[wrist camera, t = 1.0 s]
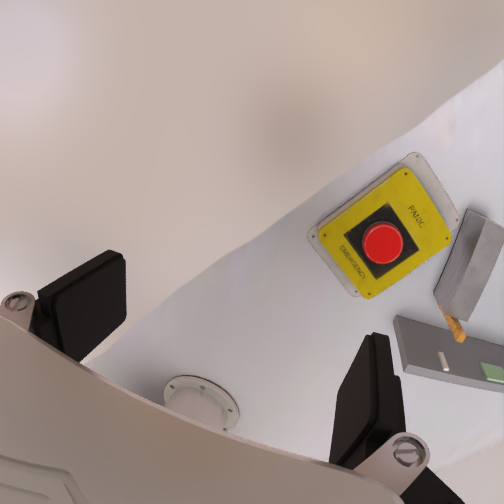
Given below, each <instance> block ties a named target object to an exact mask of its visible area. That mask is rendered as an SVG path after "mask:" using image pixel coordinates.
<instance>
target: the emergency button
mask: <svg viewBox="0 0 504 504" xmlns="http://www.w3.org/2000/svg"><path fill="white" fill-rule="evenodd" d="M459 224H460V215H459V214H458V212H457V210H456V208H455V207H454V205H453V203H452V201H451V200H450V198H449V196H448V195H447V193H446V191H445V190H444V188H443V186H442V185H441V183H440V181H439V180H438V178H437V177H436V175H435V174H434V172H433V170H432V169H431V167H430V166H429V164H428V163H427V161H426V160H425V158H424V157H423V156H422V155H421V154H420V153H416V152H413V153H411V154H409V155H407V156H406V157H405V158H404V159H402V160H401V161H400V162H398V163H397V164H396V165H394V166H393V167H392V168H391V169H389V170H388V171H387V172H385V173H384V174H383V175H381V176H380V177H379V178H377V179H376V180H375V181H374V182H372V183H371V184H370V185H368V186H367V187H366V188H364V189H363V190H362V191H360V192H359V193H358V194H356V195H355V196H354V197H353V198H351V199H350V200H349V201H347V202H346V203H345V204H343V205H342V206H341V207H339V208H338V209H337V210H335V211H334V212H333V213H331V214H330V215H329V216H327V217H326V218H325V219H323V220H322V221H321V222H319V223H318V224H317V225H315V226H314V227H313V228H311V230H310V231H309V232H308V236H307V238H308V241H309V243H310V244H311V245H312V246H313V248H314V249H315V250H316V251H317V253H318V254H319V255H320V257H321V258H322V259H323V260H324V262H325V263H326V264H327V266H328V267H329V268H330V269H331V271H332V272H333V273H334V275H335V276H336V277H337V278H338V280H339V281H340V282H341V284H342V285H343V286H344V288H345V289H346V290H347V292H348V293H349V294H350V295H352V296H355V297H358V296H362V297H364V298H366V299H370V298H373V297H374V296H376V295H378V294H379V293H381V292H382V291H384V290H385V289H387V288H388V287H390V286H391V285H393V284H394V283H396V282H397V281H399V280H400V279H402V278H403V277H404V276H406V275H407V274H409V273H410V272H412V271H413V270H415V269H416V268H417V267H419V266H420V265H422V264H423V263H424V262H426V261H427V260H429V259H430V258H431V257H433V256H434V255H436V254H437V253H438V252H440V251H441V250H442V249H444V248H445V247H446V246H448V245H449V244H450V242H451V239H452V236H451V232H452V231H454V230H455V229H456V228H457V227H458V226H459Z"/></svg>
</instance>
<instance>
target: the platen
mask: <svg viewBox="0 0 504 504" xmlns="http://www.w3.org/2000/svg"><path fill="white" fill-rule="evenodd" d="M503 243H504V227H502V226H500V225H499V224H497V223H495V222H494V221H492V220H490V219H489V218H486V217H484V216H482V215H480V214H478V213H476V212H473V211H471V210H469V209H467V212H466V215H465V218H464V220H463V223H462V226H461V229H460V232H459V234H458V237H457V240H456V242H455V245H454V247H453V250H452V252H451V255H450V257H449V260H448V262H447V264H446V267H445V269H444V271H443V274H442V276H441V278H440V281H439V283H438V285H437V287H436V289H435V291H434V295H435V297H436V299H437V301H438V305H439V307H440V309H441V311H442V313H443V315H444V317H445V319H446V321H447V323H448V325H449V327H450V329H451V331H452V333H453V335H454V337H455V340H456V341H457V342H461V343H463V341H464V339H465V338H466V334H465V332H464V330H463V329H462V327H461V325H460V323H459V321H458V319H460V320H463V321H466V322H467V321H468V319H469V317H470V316H471V314H472V312H473V310H474V308H475V306H476V304H477V302H478V300H479V298H480V296H481V294H482V292H483V290H484V288H485V286H486V283H487V281H488V279H489V277H490V275H491V272H492V270H493V268H494V266H495V263H496V261H497V258H498V256H499V253H500V251H501V248H502V246H503Z"/></svg>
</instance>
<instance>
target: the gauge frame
mask: <svg viewBox="0 0 504 504" xmlns="http://www.w3.org/2000/svg"><path fill="white" fill-rule="evenodd" d="M393 325H394V329H395V333H396V338H397V342H398V347H399V352H400V357H401V362H402V367H403V372H405V373H409V374H413V375H417V376H422V377H426V378H430V379H435V380H439V381H444V382H449V383H453V384H458V385H463V386H468V387H473V388H478V389H484V390H489V391H495V392H501V393H504V347H503V346H500V345H496V344H493V343H489V342H486V341H482V340H479V339H475V338H472V337H468V336H466V338H465V339H464V341H463V343H461V342H457V341H456V340H455V337H454V335H453V333H452V332H451V331H448V330H444V329H441V328H437V327H434V326H431V325H427V324H424V323H421V322H417V321H414V320H411V319H407V318H404V317H401V316H397V315H396V317H395V319H394V321H393Z"/></svg>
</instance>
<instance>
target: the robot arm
mask: <svg viewBox="0 0 504 504" xmlns="http://www.w3.org/2000/svg"><path fill="white" fill-rule="evenodd" d="M37 292H38V298H39V299H37V300H36V301H35V298H34V296H33V295H32V294H30V293H28V292H23V291H20V292H14V293H11V294H9V295H8V296H6V297H5V298H4V299H3V301H2V302H1V305H0V504H465V503H464V502H463V501H462V500H461V499H460V498H459V497H458V496H457V495H456V494H455V493H454V492H453V491H452V490H451V489H450V488H449V487H448V486H446V484H444V482H443V481H441V480H440V479H439V478H438V477H437V476H436V475H435V474H434V473H433V472H432V471H431V470H430V469H429V468H428V467H427V464H428V462H429V459H430V452H429V448H428V446H427V444H426V443H425V442H424V441H423V440H422V439H421V438H420V437H418V436H417V435H415V434H412V433H407V432H406V425H405V414H404V405H403V396H402V388H401V381H400V377H399V376H396V375H394V369H393V362H392V355H391V348H390V341H389V336H387V335H383V334H379V333H376V332H373V333H372V334H371V335H366V336H365V338H364V340H363V342H362V344H361V346H360V348H359V351H358V353H357V355H356V357H355V359H354V361H353V363H352V365H351V367H350V369H349V371H348V373H347V375H346V376H345V378H344V380H343V382H342V384H341V386H340V388H339V391H338V394H337V402H336V411H335V419H334V428H333V435H332V443H331V450H330V457H329V463H327V462H324V461H320V460H316V459H313V458H309V457H305V456H301V455H298V454H294V453H290V452H287V451H283V450H280V449H276V448H273V447H270V446H267V445H263V444H260V443H257V442H254V441H251V440H248V439H245V438H241V437H239V436H236V435H233V434H230V433H227V432H228V431H230V430H232V429H233V428H234V427H235V425H236V423H237V421H238V418H239V412H238V408H237V406H236V404H235V402H234V401H233V400H232V398H231V397H230V396H229V395H228V394H227V393H226V392H225V391H223V390H222V389H221V388H219V387H218V386H216V385H214V384H213V383H211V382H208V381H206V380H204V379H200V378H197V377H191V376H180V377H176V378H174V379H172V380H171V381H169V382H168V384H167V385H166V387H165V389H164V392H163V397H164V401H165V403H166V404H165V406H164V407H163V406H160V405H158V404H156V403H154V402H152V401H150V400H147V399H145V398H143V397H141V396H139V395H137V394H135V393H133V392H131V391H129V390H127V389H125V388H123V387H121V386H119V385H117V384H116V383H114V382H112V381H110V380H108V379H106V378H104V377H103V376H101V375H99V374H97V373H95V372H94V371H92V370H90V369H88V368H87V367H85V366H83V365H82V364H80V363H79V362H80V361H81V360H83V358H84V357H86V356H87V355H88V354H89V353H90V352H91V351H92V350H93V349H95V348H96V347H97V346H98V345H99V344H100V343H101V342H102V341H103V340H104V339H105V338H107V337H108V336H109V335H110V334H111V333H112V332H113V331H114V330H115V329H116V328H118V327H119V326H120V325H121V324H122V323H123V322H124V321H125V319H126V314H127V312H126V261H125V259H124V258H123V255H122V254H121V253H118V252H115V251H112V250H107V251H105V252H103V253H102V254H100V255H98V256H96V257H94V258H93V259H91V260H89V261H87V262H86V263H84V264H82V265H81V266H79V267H77V268H75V269H74V270H72V271H70V272H68V273H67V274H65V275H63V276H62V277H60V278H58V279H57V280H55V281H54V282H52V283H50V284H48V285H47V286H45V287H44V288H42V289H40V290H39V291H37Z"/></svg>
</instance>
